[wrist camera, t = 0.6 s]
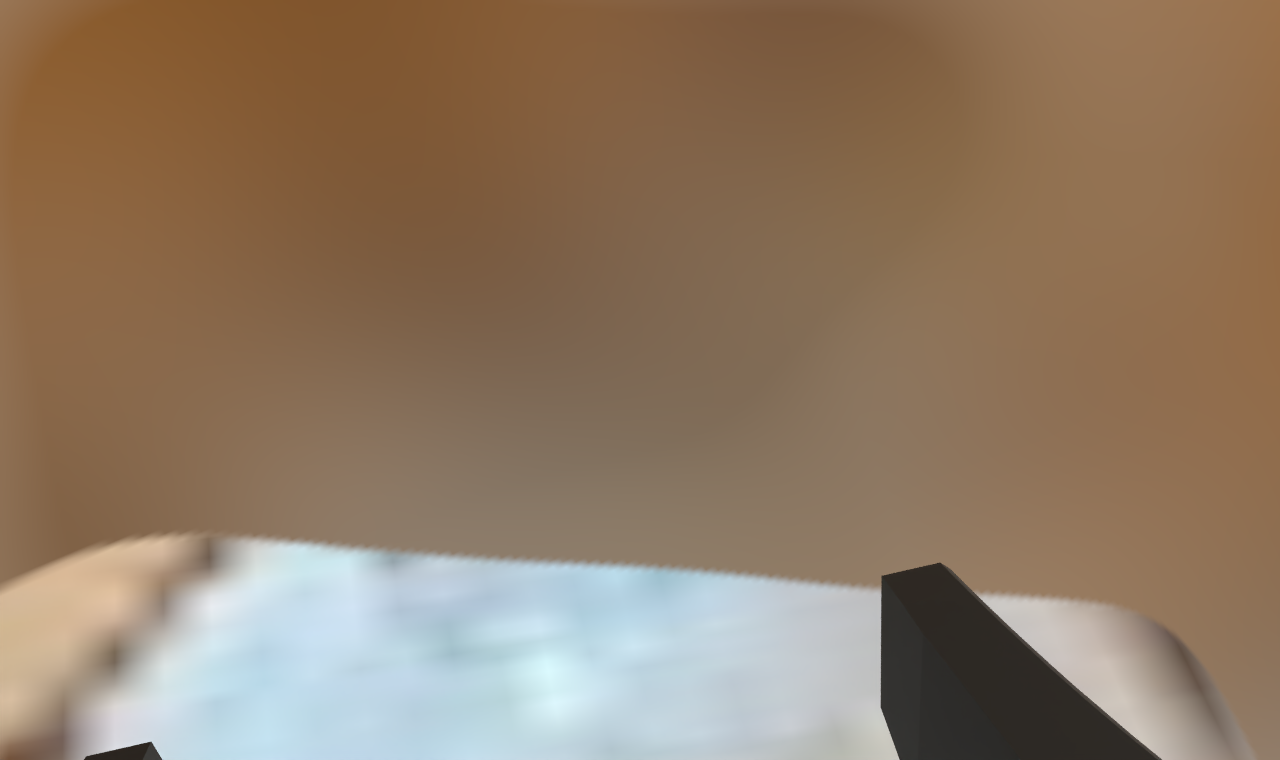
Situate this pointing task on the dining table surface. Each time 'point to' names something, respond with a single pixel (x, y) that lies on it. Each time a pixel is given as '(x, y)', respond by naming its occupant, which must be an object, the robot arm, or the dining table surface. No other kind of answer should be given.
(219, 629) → the dining table surface
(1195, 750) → the dining table surface
